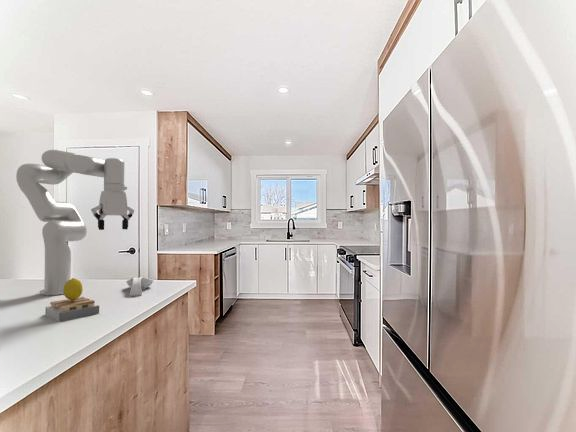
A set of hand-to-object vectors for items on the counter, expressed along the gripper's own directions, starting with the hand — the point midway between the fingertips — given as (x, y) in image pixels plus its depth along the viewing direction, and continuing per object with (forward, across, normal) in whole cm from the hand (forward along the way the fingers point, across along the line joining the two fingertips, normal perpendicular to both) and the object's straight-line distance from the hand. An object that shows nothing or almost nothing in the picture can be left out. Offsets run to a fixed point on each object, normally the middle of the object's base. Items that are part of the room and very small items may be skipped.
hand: (113, 229), depth 140 cm
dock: (+28, +20, +13) cm, 37 cm away
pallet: (+26, +20, +13) cm, 35 cm away
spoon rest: (+29, -14, -5) cm, 33 cm away
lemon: (+24, +20, +13) cm, 34 cm away
